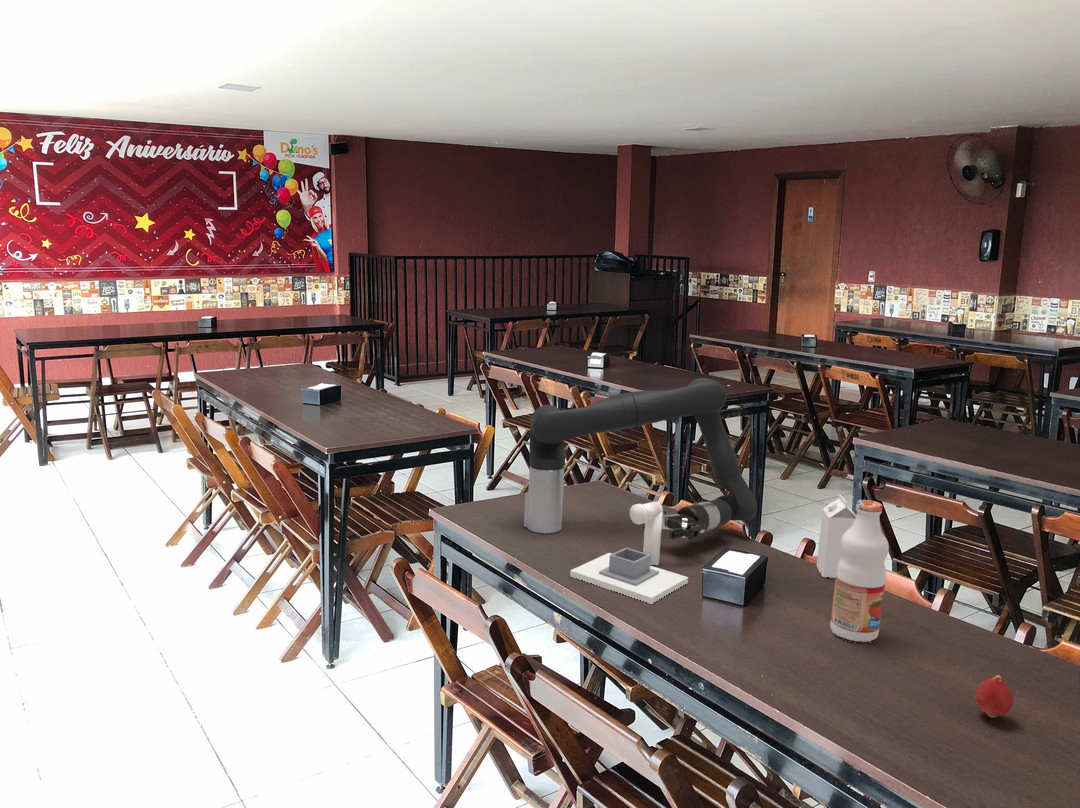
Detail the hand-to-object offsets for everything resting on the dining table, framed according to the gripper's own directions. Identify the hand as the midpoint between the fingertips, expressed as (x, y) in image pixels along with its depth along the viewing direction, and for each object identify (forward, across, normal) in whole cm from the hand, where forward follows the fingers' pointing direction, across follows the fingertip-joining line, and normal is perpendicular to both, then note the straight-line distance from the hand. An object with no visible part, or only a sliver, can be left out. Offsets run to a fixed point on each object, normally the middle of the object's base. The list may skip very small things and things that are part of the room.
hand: (656, 530), depth 212 cm
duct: (+14, +4, +8) cm, 17 cm away
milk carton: (-30, +31, +8) cm, 44 cm away
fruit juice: (-3, +51, +8) cm, 52 cm away
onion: (+8, +82, +8) cm, 83 cm away
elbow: (+4, 0, +8) cm, 9 cm away
